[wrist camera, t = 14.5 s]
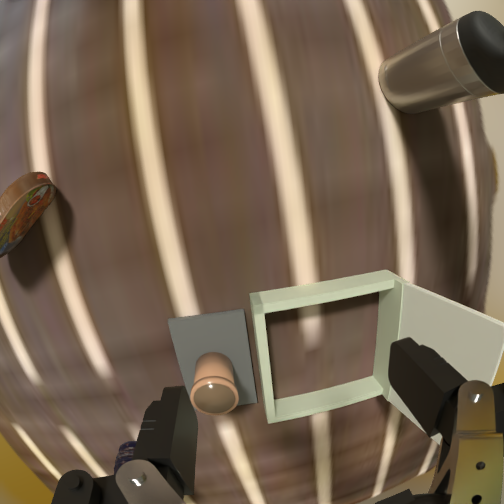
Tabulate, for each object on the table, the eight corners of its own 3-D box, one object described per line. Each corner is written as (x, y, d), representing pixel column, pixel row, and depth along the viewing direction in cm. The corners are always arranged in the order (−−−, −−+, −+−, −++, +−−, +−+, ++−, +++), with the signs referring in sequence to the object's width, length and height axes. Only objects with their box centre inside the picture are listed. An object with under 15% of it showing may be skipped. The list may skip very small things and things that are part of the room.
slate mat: (243, 308, 39) (243, 311, 38) (256, 399, 42) (257, 402, 42) (168, 318, 38) (167, 321, 37) (193, 407, 41) (193, 410, 41)
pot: (231, 347, 39) (234, 378, 32) (237, 380, 40) (241, 412, 33) (189, 352, 38) (185, 383, 31) (197, 385, 40) (196, 417, 33)
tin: (10, 256, 33) (-24, 271, 25) (0, 240, 32) (-35, 252, 24) (67, 185, 32) (32, 187, 24) (55, 168, 31) (20, 166, 23)
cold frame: (400, 266, 40) (511, 326, 19) (390, 374, 45) (459, 455, 24) (249, 293, 38) (287, 411, 17) (264, 406, 43) (293, 521, 22)
